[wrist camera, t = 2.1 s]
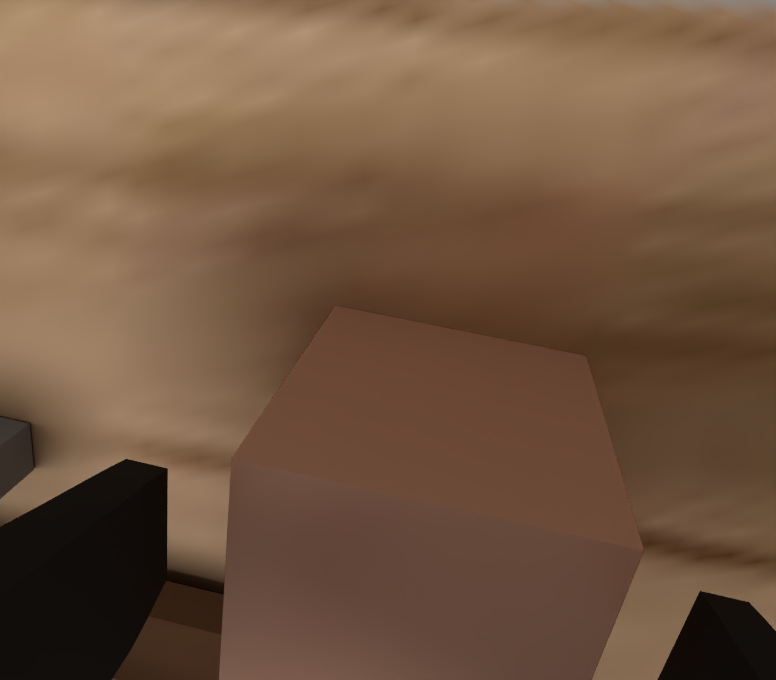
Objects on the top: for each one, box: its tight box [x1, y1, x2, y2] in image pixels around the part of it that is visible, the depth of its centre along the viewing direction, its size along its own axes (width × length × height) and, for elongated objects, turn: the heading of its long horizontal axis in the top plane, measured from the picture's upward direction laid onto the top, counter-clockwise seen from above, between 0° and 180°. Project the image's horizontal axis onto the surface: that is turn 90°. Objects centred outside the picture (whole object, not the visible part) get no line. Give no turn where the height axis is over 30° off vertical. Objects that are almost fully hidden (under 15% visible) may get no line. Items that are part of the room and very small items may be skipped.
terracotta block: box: [219, 306, 644, 680], centre depth 10 cm, size 4×4×5 cm
